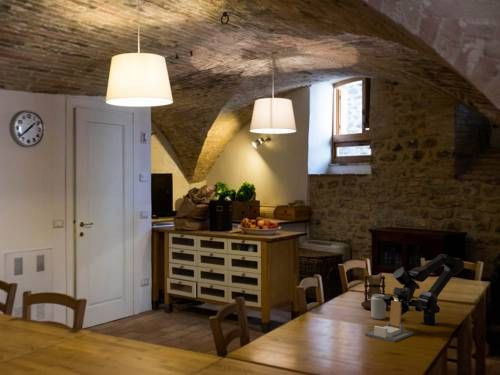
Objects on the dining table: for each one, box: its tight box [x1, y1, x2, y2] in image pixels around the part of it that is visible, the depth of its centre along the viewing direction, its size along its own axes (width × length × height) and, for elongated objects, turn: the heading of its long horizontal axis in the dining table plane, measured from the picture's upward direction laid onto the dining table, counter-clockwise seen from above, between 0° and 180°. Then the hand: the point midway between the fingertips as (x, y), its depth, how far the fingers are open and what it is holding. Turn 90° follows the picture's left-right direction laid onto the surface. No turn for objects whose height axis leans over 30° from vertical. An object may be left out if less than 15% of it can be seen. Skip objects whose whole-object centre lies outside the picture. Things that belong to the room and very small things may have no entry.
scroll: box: [361, 271, 389, 311], centre depth 302 cm, size 15×15×20 cm
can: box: [370, 293, 387, 320], centre depth 281 cm, size 8×8×12 cm
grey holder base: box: [364, 321, 414, 343], centre depth 250 cm, size 17×15×5 cm
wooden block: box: [389, 300, 402, 327], centre depth 254 cm, size 1×5×11 cm, turn 45°
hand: (396, 317), depth 255 cm, fingers closed
